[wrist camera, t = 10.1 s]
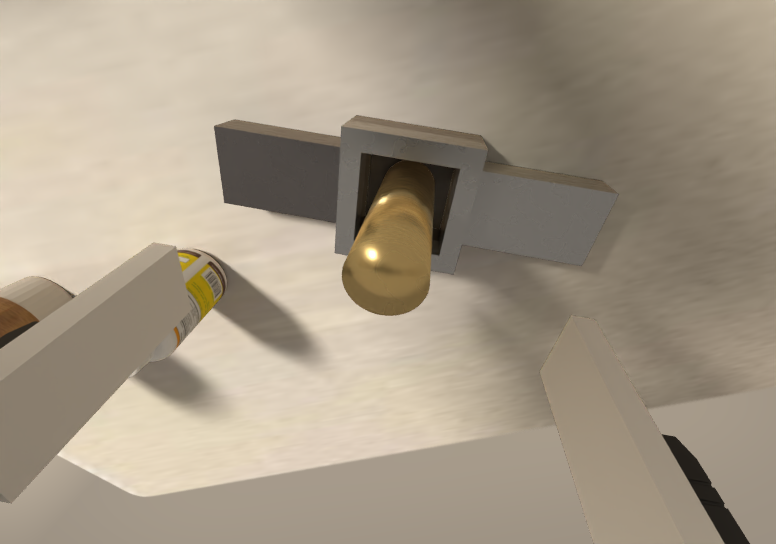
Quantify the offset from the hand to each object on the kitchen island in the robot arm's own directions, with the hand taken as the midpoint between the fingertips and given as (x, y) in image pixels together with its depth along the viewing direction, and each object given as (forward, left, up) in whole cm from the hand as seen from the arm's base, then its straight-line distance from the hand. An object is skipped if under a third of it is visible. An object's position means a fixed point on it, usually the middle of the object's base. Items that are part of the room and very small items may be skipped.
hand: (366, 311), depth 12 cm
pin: (0, 0, -14) cm, 14 cm away
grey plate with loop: (0, 0, -14) cm, 14 cm away
